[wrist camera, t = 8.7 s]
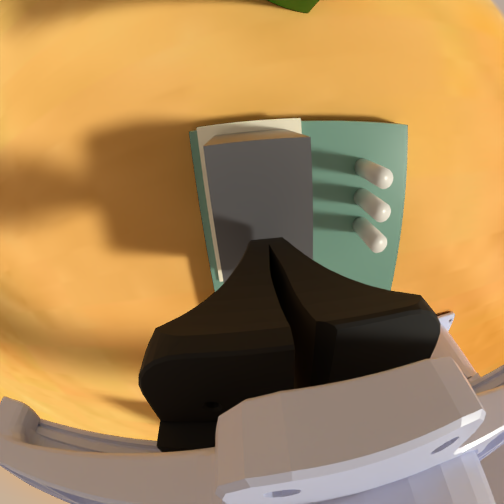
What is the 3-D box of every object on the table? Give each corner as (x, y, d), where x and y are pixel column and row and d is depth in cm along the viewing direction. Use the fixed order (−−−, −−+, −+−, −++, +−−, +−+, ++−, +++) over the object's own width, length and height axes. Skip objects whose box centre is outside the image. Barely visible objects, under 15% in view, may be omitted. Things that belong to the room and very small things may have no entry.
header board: (379, 297, 23) (400, 330, 19) (223, 318, 23) (221, 358, 19) (396, 120, 16) (433, 126, 12) (192, 127, 16) (178, 131, 12)
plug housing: (291, 264, 19) (310, 323, 14) (232, 270, 19) (232, 332, 14) (284, 128, 15) (310, 137, 10) (215, 135, 15) (203, 146, 10)
